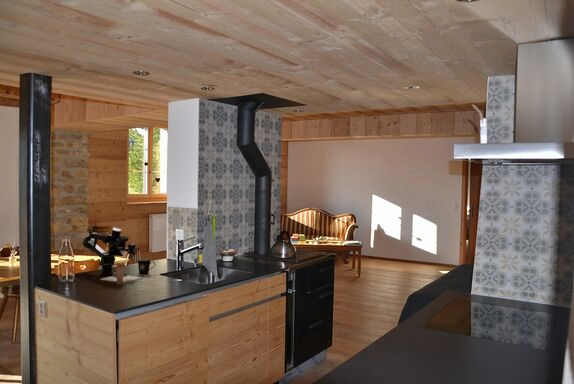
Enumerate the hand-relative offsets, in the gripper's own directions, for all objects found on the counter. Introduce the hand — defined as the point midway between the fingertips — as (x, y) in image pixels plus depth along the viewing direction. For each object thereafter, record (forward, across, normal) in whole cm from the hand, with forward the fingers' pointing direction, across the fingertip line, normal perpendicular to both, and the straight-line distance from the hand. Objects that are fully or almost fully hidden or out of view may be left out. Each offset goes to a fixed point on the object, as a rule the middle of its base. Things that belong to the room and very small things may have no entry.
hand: (128, 254), depth 308 cm
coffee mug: (-2, +19, +18) cm, 27 cm away
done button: (-6, +1, +17) cm, 18 cm away
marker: (+12, -11, +13) cm, 21 cm away
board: (+1, -2, +17) cm, 17 cm away
